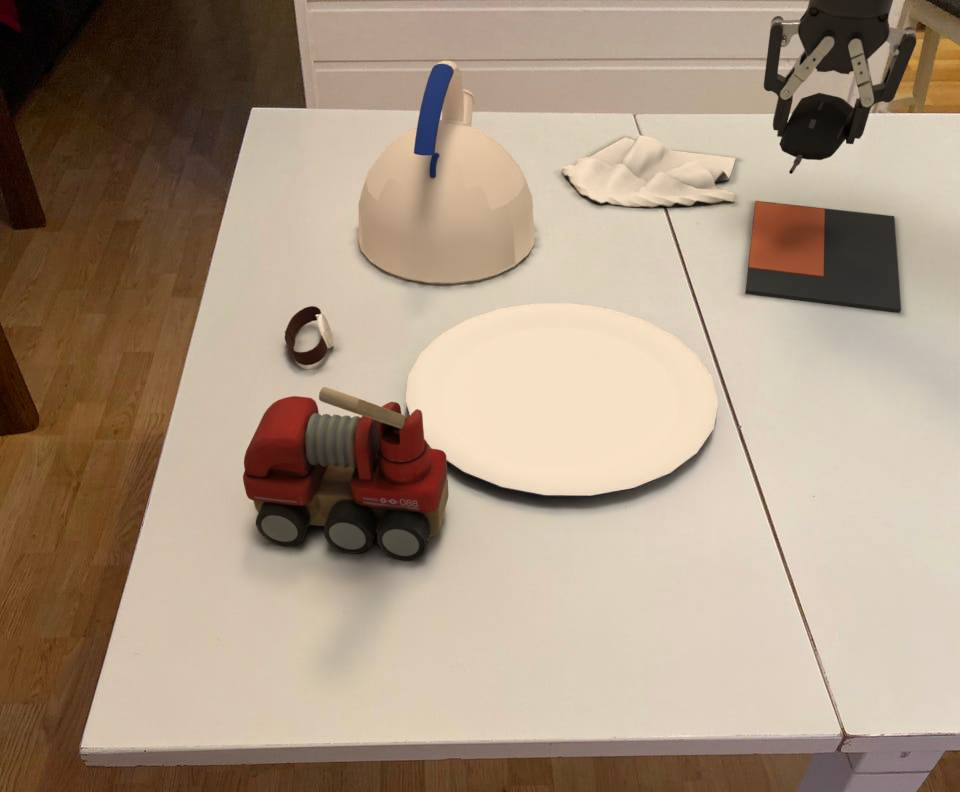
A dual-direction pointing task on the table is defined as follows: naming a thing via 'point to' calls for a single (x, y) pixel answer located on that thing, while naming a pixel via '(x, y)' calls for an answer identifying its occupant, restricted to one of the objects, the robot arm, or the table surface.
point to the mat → (824, 256)
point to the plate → (562, 399)
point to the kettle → (445, 196)
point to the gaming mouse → (816, 128)
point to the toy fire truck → (346, 475)
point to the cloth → (650, 175)
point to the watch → (324, 328)
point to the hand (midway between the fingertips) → (815, 137)
